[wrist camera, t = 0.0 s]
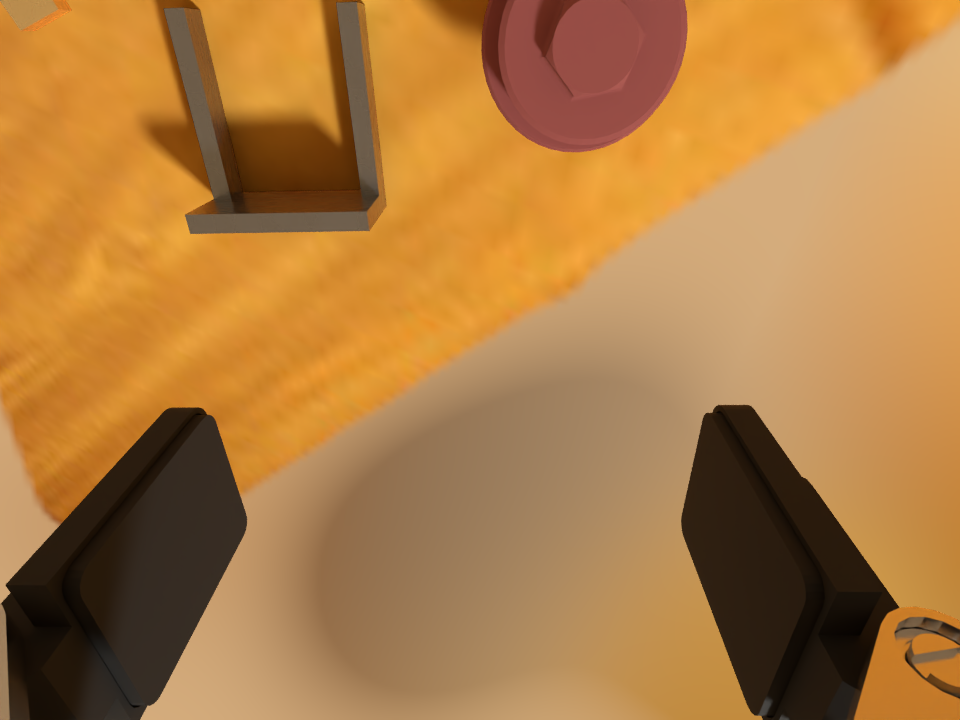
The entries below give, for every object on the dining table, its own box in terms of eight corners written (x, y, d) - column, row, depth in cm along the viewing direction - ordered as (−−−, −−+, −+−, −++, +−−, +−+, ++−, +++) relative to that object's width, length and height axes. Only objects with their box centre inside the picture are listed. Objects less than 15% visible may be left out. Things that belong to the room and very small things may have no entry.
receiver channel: (180, 10, 34) (122, 3, 28) (364, 4, 33) (339, -4, 28) (230, 209, 40) (190, 233, 35) (386, 206, 39) (369, 230, 34)
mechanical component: (604, 153, 37) (464, 100, 36) (677, -16, 32) (518, -84, 31) (646, 196, 26) (449, 124, 25) (764, -46, 22) (528, -152, 20)
